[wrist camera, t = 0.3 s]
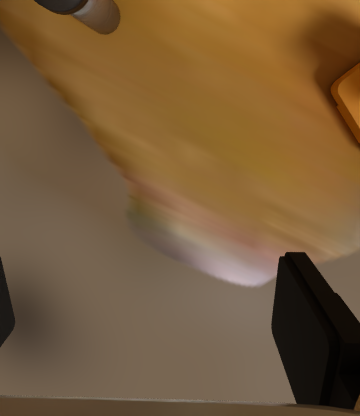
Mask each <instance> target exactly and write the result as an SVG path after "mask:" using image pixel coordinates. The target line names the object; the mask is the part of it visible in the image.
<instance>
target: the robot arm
mask: <svg viewBox="0 0 360 416" xmlns="http://www.w3.org/2000/svg"><path fill="white" fill-rule="evenodd" d="M14 325H15V318H14V313H13V309H12V304H11V300H10V296H9V291H8V287H7V283H6V278H5V274H4V270H3V265H2V261H1V257H0V347H1V345H2V344H3V343H4V341H5V340H6V339H7V337H8V336H9V335H10V333H11V332H12V330H13V328H14ZM271 325H272V334H273V337H274V340H275V343H276V345H277V348H278V351H279V354H280V357H281V360H282V363H283V366H284V369H285V371H286V374H287V377H288V380H289V383H290V386H291V389H292V392H293V395H294V397H295V400H296V403H297V404H288V403H275V402H244V401H215V400H179V399H175V400H174V399H143V398H142V399H141V398H140V399H139V398H102V397H101V398H100V397H57V396H55V397H54V396H6V395H3V396H2V395H0V416H360V323H359V321H358V320H357V318H356V317H355V316H354V314H353V313H352V312H351V310H350V309H349V308H348V306H347V305H346V304H345V303H344V301H343V300H342V299H341V297H340V296H339V295H338V294H337V293H334V291H333V290H332V289H331V287H330V286H329V284H328V283H327V282H326V280H325V279H324V278H323V276H322V275H321V273H320V272H319V271H318V270H317V268H316V267H315V265H314V264H313V263H312V261H311V260H310V258H309V257H308V256H307V254H306V253H305V252H286V253H285V256H280V258H279V263H278V271H277V280H276V289H275V299H274V306H273V315H272V324H271Z"/></svg>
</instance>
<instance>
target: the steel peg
mask: <svg viewBox="0 0 360 416" xmlns="http://www.w3.org/2000/svg"><path fill="white" fill-rule="evenodd" d="M34 1H35V2H37V3H38V4H39V5H41V6H43V7H44V8H46V9H48V10H50V11H51V12H54V13H56V14H61V15H69V14H70V15H72V16H73V17H75V18H76V19H78V20H79V21H81V22H82V23H84V24H85V25H87V26H88V27H90V28H91V29H93V30H94V31H96V32H98V33H100V34H104V35H106V34H110V33H112V32H114V31H115V30H116V29H117V27H118V25H119V23H120V11H119V8H118V6H117V4H116V3H115V2H114V1H113V0H34Z"/></svg>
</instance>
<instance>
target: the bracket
mask: <svg viewBox="0 0 360 416" xmlns="http://www.w3.org/2000/svg"><path fill="white" fill-rule="evenodd" d="M331 94H332V96H333V98H334V99H335V101H336V102H337V104H338V105H336V107H337V109H338V110H339V112H340V113H341V115H342V117H343V118H344V120H345V121H346V123H347V125H348V126H349V128H350V129H351V131H352V133H353V134H354V136H355V138H356V139H357V141H358V142H359V144H360V63H358V64H357V65H356V66H354V67H353V68H352V69H350V70H349V71H348V72H346V73H345V74H344V75H342V76H341V77H340V78H339V79H337V80H336V81H335V82H334V83H333V84H332V86H331Z"/></svg>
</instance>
